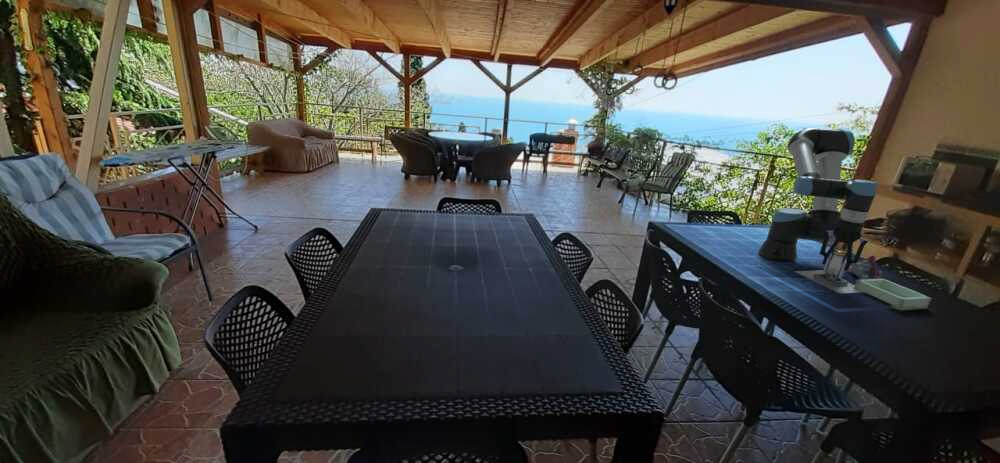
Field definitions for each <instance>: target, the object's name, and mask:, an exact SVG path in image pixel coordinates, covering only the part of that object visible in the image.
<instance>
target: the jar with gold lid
mask: <svg viewBox="0 0 1000 463" xmlns="http://www.w3.org/2000/svg"><path fill="white" fill-rule="evenodd" d="M830 257H831V258H830V261H829V264H828V267H827V269H826V272H825V275H824V278H826V279H829V280H831V281H837V280H838V278H839V274H840V271H841V268H842V266H843V263H844V262H845V261H846V260H847V251H845V250H841V249H836V248H835V249H834V250H833V251H832V253H831V254H830Z"/></svg>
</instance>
